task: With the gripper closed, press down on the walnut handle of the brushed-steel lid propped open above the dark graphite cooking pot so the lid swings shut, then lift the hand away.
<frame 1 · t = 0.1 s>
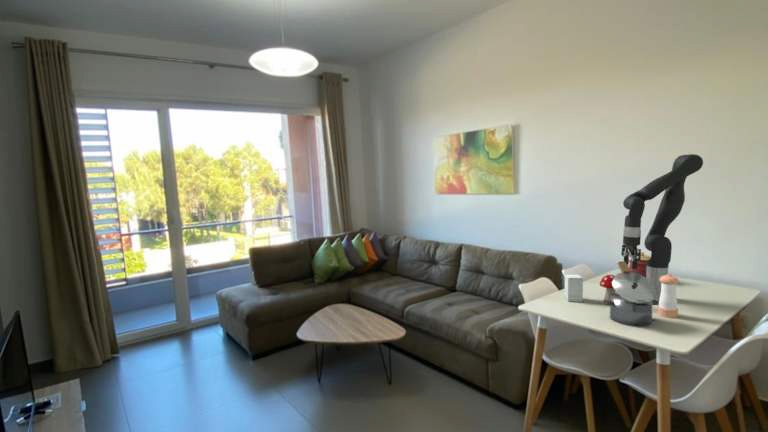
hand: (630, 266, 205), 17 cm above the table, tool pointing down, fingers open, 8 cm apart
canister: (640, 281, 239), on the table
cooker pot: (630, 319, 179), on the table
cooker lid: (631, 281, 177), point 18 cm above the table, hinge at 36.5°, touching cooker pot
decorative mushroom: (610, 304, 200), on the table
pepper shaker: (667, 315, 183), on the table
supplement box: (573, 299, 210), on the table
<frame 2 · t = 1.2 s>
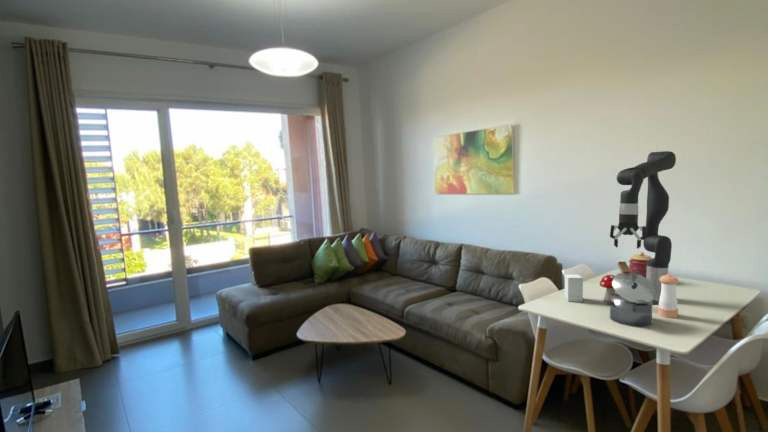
hand: (627, 247, 186), 31 cm above the table, tool pointing down, fingers open, 8 cm apart
cooker lid: (631, 281, 177), point 18 cm above the table, hinge at 36.2°, touching cooker pot
everything else where it was.
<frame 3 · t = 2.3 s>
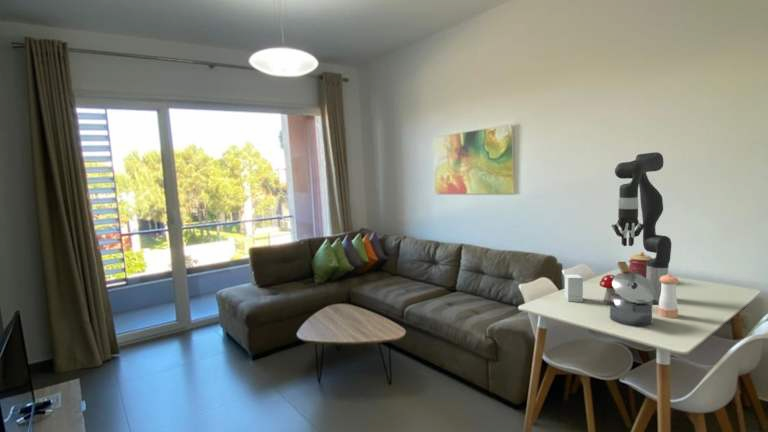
hand: (627, 245, 179), 33 cm above the table, tool pointing down, fingers closed
nothing on the table moved.
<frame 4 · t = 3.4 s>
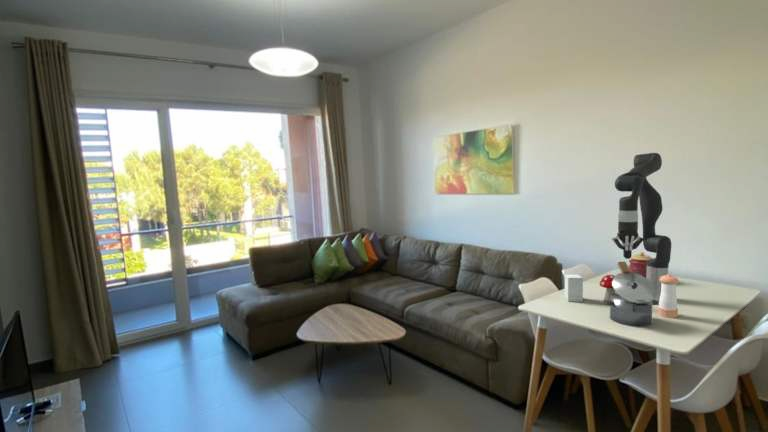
hand: (627, 258, 180), 27 cm above the table, tool pointing down, fingers closed
nothing on the table moved.
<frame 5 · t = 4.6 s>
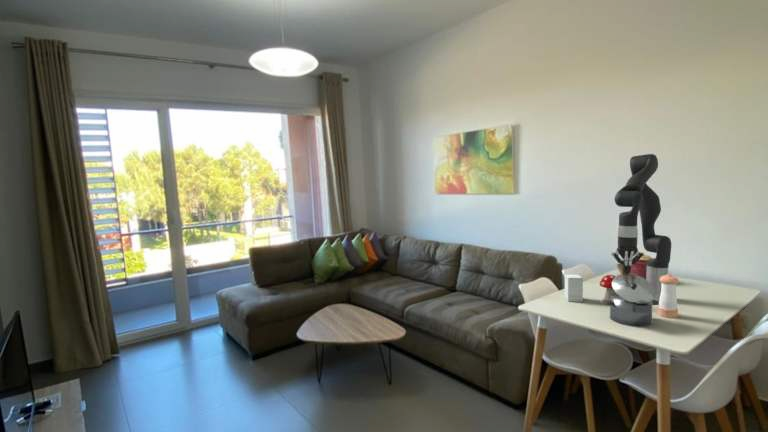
hand: (626, 273, 181), 20 cm above the table, tool pointing down, fingers closed
cooker lid: (631, 282, 177), point 17 cm above the table, hinge at 32.3°, touching gripper
everything else where it was.
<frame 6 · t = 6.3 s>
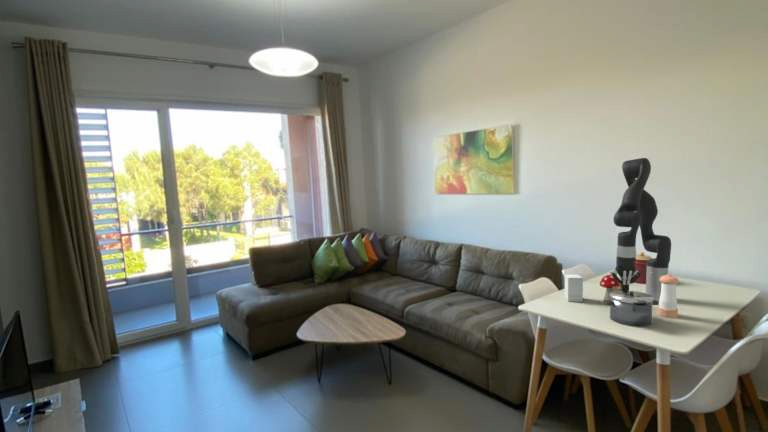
hand: (624, 292, 183), 11 cm above the table, tool pointing down, fingers closed
cooker lid: (628, 293, 180), point 11 cm above the table, hinge at -0.3°, touching gripper
everything else where it was.
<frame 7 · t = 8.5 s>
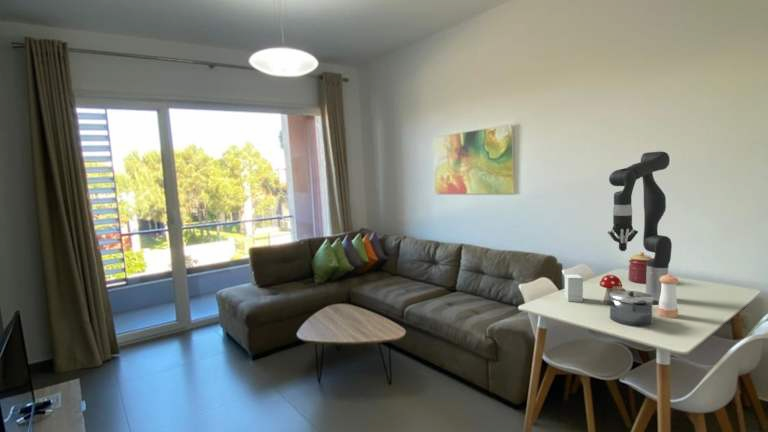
hand: (622, 250, 186), 29 cm above the table, tool pointing down, fingers closed
cooker lid: (628, 293, 180), point 11 cm above the table, hinge at -0.3°
everything else where it was.
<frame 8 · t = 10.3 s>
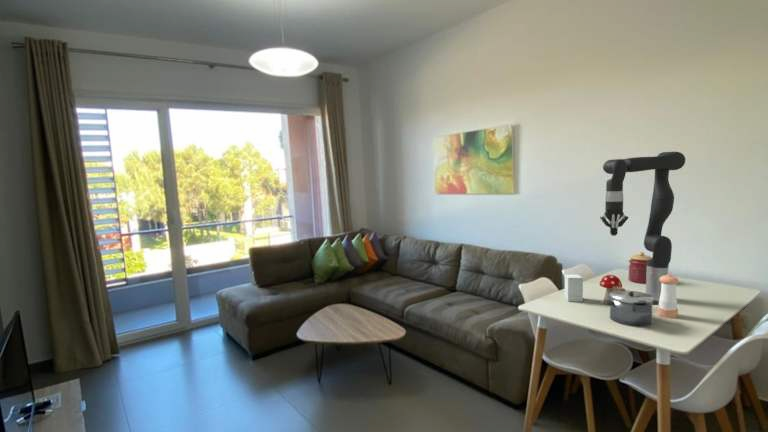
hand: (613, 235, 197), 35 cm above the table, tool pointing down, fingers closed
nothing on the table moved.
at the end: cooker lid at +0° (first picture: +37°); the gripper is holding nothing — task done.
